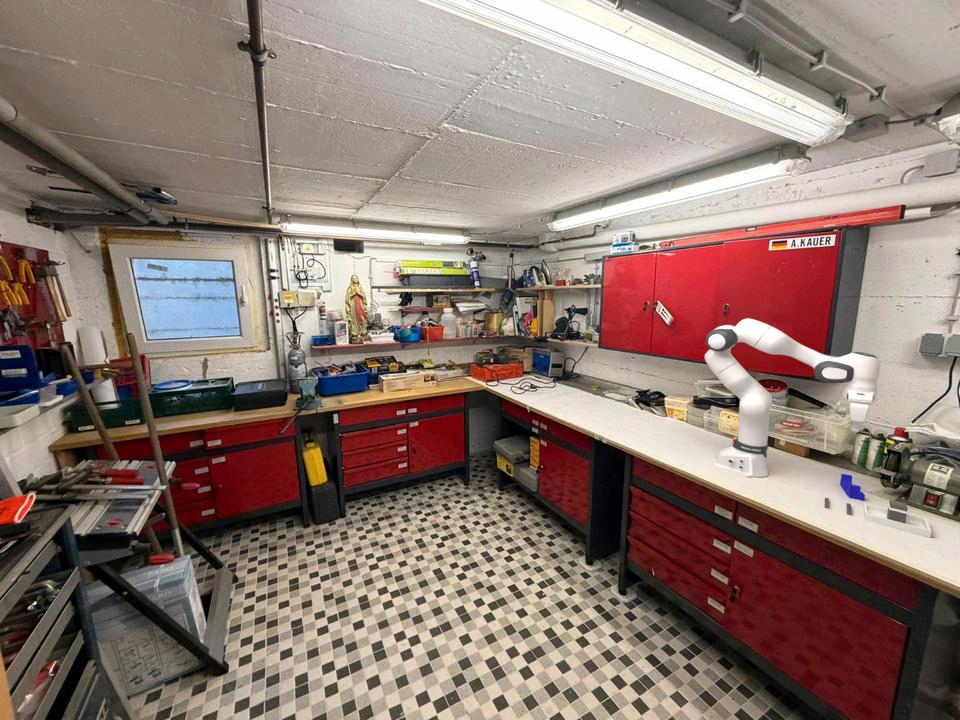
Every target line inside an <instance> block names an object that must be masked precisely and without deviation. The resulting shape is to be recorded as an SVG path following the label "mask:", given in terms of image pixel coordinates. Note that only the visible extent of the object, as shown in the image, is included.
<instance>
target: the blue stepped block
mask: <svg viewBox="0 0 960 720" xmlns="http://www.w3.org/2000/svg"><path fill="white" fill-rule="evenodd" d="M839 485H840V486H841V489H842V490H843V491H844V493H845V494H846V496H847V497H848V498H849V499H853V500H858V501H862V502H864V501H865V500H866V499H865V498H866V494H865V493H864V492H863V491H861V489H862V487H861V485H858V484H853V475H852V474H847V473H846V474H845V473H841V475H840V483H839Z"/></svg>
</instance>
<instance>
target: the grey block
mask: <svg viewBox="0 0 960 720" xmlns="http://www.w3.org/2000/svg"><path fill="white" fill-rule="evenodd" d="M887 507H888V508H887V509H888V512H887V519H889V520H893V521H897V522H901V523H904V524H905V522H906V516H907V514H909V510H908V509H909V507H908V505H907V503H904V502H901V501H897V500H893V499H889V501H888V503H887Z"/></svg>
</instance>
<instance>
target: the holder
mask: <svg viewBox="0 0 960 720" xmlns="http://www.w3.org/2000/svg"><path fill="white" fill-rule="evenodd" d="M824 508H825V509H827V510H829V509H830V498H829V497H824ZM845 510H846V515H847V516H852V512H853V511H852V505H851V503H848V502H847V503H846V505H845Z"/></svg>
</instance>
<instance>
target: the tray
mask: <svg viewBox="0 0 960 720" xmlns="http://www.w3.org/2000/svg"><path fill="white" fill-rule="evenodd" d="M862 508H863V517H864V520H865V521H868V522H871V523H874V524H878V525H882V526H885V527H889V528H892V529H896V530H899V531H902V532H903V531H904V532H906V533H907V532H908V533H910V534H914V535H918V536H922V537H926V538H929V539H931V535H932V530H931V526H930V524H929V522H928V520H927V518H926V517H923V516H918V515H914V514H911V513H910V514H909V513H908V514H907V516H906V522H905V524H904V523H901V522H897V521H893V520H889V519H887V512H888V508H886V507H882V506H878V505H874V504H870V503H867V502H866V503H865V502H863V506H862Z"/></svg>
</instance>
